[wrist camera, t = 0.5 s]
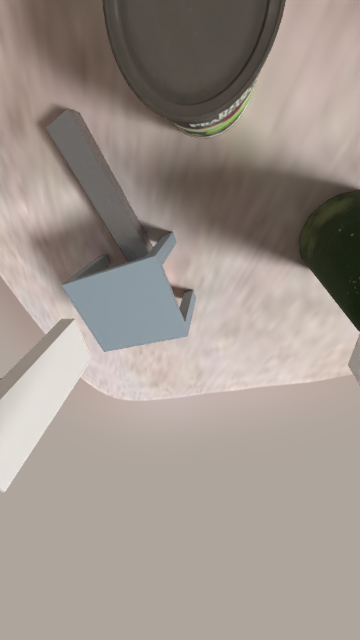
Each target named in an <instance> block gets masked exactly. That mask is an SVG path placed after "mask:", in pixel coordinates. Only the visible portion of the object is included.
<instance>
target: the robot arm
mask: <svg viewBox="0 0 360 640" xmlns="http://www.w3.org/2000/svg"><path fill="white" fill-rule="evenodd" d="M91 360H92V357H91V355H90V353H89V350H88V348H87V346H86V343H85V341H84V339H83V336H82V334H81V332H80V329H79V327H78V325H77V322H76V320H75V319H61V320H60V321H59V322H58V323H57V324H56V325H55V326H54V327H53V328H52V329H51V330H50V331H49V332H48V333H47V334H46V335H45V336H44V337H43V338H42V339H41V340H40V341H39V342H38V343H37V344H36V345H35V346H34V347H33V348H32V349H31V350H30V351H29V352H28V353H27V354H26V355H25V356H24V357H23V358H22V359H21V360H20V361H19V362H18V363H17V364H16V365H15V366H14V367H13V368H12V369H11V370H10V371H9V372H8V373H7V374H6V375H5V376H4V377H3V378H1V379H0V491H1V492H5V491H6V489H7V488H8V486H9V485H10V483H11V482H12V480H13V478H14V477H15V476H16V474H17V473H18V471H19V470H20V468H21V467H22V465H23V464H24V462H25V460H26V459H27V457H28V456H29V454H30V452H31V451H32V450H33V448H34V447H35V445H36V444H37V442H38V440H39V439H40V438H41V436H42V435H43V433H44V432H45V430H46V428H47V427H48V425H49V424H50V422H51V420H52V419H53V418H54V416H55V415H56V413H57V411H58V410H59V408H60V407H61V406H62V404H63V402H64V401H65V399H66V398H67V396H68V395H69V393H70V392H71V390H72V389H73V387H74V386H75V384H76V383H77V381H78V380H79V378H80V377H81V375H82V374H83V372H84V370H85V369H86V367H87V366H88V364H89V363H90V361H91ZM348 366H349V368H350V369H351V371H352V373H353V375H354V376H355V378H356V380H357V381H358V383H359V385H360V335H359V337H358V340H357V342H356V345H355V348H354V350H353V353H352V356H351V358H350V361H349V364H348Z"/></svg>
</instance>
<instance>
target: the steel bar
mask: <svg viewBox="0 0 360 640" xmlns="http://www.w3.org/2000/svg"><path fill="white" fill-rule="evenodd" d="M46 129H47V131H48V132H49V134H50V135H51V137H52V139H53V140H54V142H55V144H56V145H57V147H58V148H59V150H60V152H61V153H62V155H63V156H64V158H65V160H66V161H67V163H68V165H69V166H70V168H71V169H72V171H73V173H74V174H75V176H76V178H77V179H78V181H79V182H80V184H81V186H82V187H83V189H84V190H85V192H86V194H87V195H88V197H89V199H90V200H91V202H92V203H93V205H94V207H95V208H96V210H97V212H98V213H99V215H100V216H101V218H102V220H103V221H104V223H105V224H106V226H107V228H108V229H109V231H110V233H111V234H112V236H113V237H114V239H115V241H116V242H117V244H118V246H119V247H120V249H121V250H122V252H123V254H124V255H125V257H126V258H127V260H128V262H131V261H134V260H137V259H140V258H143V257H146V255H147V254H148V253H149V252H150V251H151V249H152V248H153V246H152V244H151V242H150V240H149V238H148V236H147V235H146V233H145V231H144V229H143V227H142V226H141V224H140V222H139V220H138V218H137V216H136V215H135V213H134V211H133V209H132V207H131V206H130V204H129V202H128V200H127V198H126V196H125V195H124V193H123V191H122V189H121V187H120V186H119V184H118V182H117V180H116V178H115V176H114V175H113V173H112V171H111V169H110V167H109V165H108V164H107V162H106V160H105V158H104V156H103V155H102V153H101V151H100V149H99V147H98V145H97V144H96V142H95V140H94V138H93V136H92V135H91V133H90V131H89V129H88V127H87V125H86V124H85V122H84V120H83V118H82V116H81V115H80V113H79V112H76V111H73V110H70V109H66V110H65V111H64V112H63V113H62V114H61V115H60V116H58V117H57V118H56V119H55V120H54V121H53V122H52V123H51V124H50V125H48V126H47V127H46Z"/></svg>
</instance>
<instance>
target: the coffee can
mask: <svg viewBox="0 0 360 640" xmlns="http://www.w3.org/2000/svg"><path fill="white" fill-rule="evenodd" d="M285 1H286V0H103V9H104V15H105V23H106V28H107V33H108V37H109V41H110V45H111V48H112V52H113V54H114V57H115V60H116V62H117V64H118V67H119V69H120V71H121V73H122V75H123V77H124V79H125V80H126V82H127V83H128V85H129V86H130V88H131V89H132V91H133V92H134V93H135V94H136V95H137V97H138V98H139V99H140V100H141V101H142V102H143V103H144V104H145V105H146V106H147V107H149V108H150V109H151V110H152V111H154V112H155V113H157V114H159V115H161V116H163V117H165V118H167V119H168V120H170V121H171V122H172V123H174V124H175V125H176V126H177V127H178V128H179V129H180V130H181V131H183V132H184V133H186V134H188V135H190V136H193V137H196V138H210V137H214V136H217V135H219V134H221V133H223V132H225V131H226V130H228V129H229V128H230V127H232V126H233V125H234V124H235V123H236V122H237V120H238V119H239V118H240V117H241V115H242V114H243V112H244V111H245V109H246V107H247V105H248V103H249V101H250V99H251V96H252V93H253V90H254V87H255V83H256V81H257V78H258V76H259V73H260V71H261V69H262V67H263V65H264V63H265V61H266V59H267V57H268V55H269V53H270V51H271V48H272V46H273V43H274V41H275V38H276V35H277V32H278V29H279V26H280V23H281V19H282V16H283V11H284V6H285Z"/></svg>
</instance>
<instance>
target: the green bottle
mask: <svg viewBox="0 0 360 640" xmlns="http://www.w3.org/2000/svg"><path fill="white" fill-rule="evenodd" d="M300 254H301V258H302V259H303V260H304V262H305V263H306V264H307V266H308V267H309V268H310V270H311V271H312V272H313V273H314V275H315V276H316V277H317V279H318V280H319V281H320V282H321V284H322V285H323V286H324V287H325V289H326V290H327V291H328V293H329V294H330V295H331V296H332V298H333V299H334V300H335V302H336V303H337V304H338V305H339V307H340V308H341V309H342V310H343V312H344V313H345V314H346V316H347V317H348V318H349V319H350V321H351V322H352V323H353V324H354V326H355V327H356V328H357V330H358V331H360V191H353V192H349V193H345V194H341V195H338V196H336V197H333V198H331V199H330V200H328V201H327V202H326V203H324V204H323V205H322V206H321V207H319V208H318V209H317V210H315V211H314V213H313V214H312V215H311V216H310V217H309V219H308V221H307V223H306V224H305V226H304V228H303V230H302V232H301V236H300Z"/></svg>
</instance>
